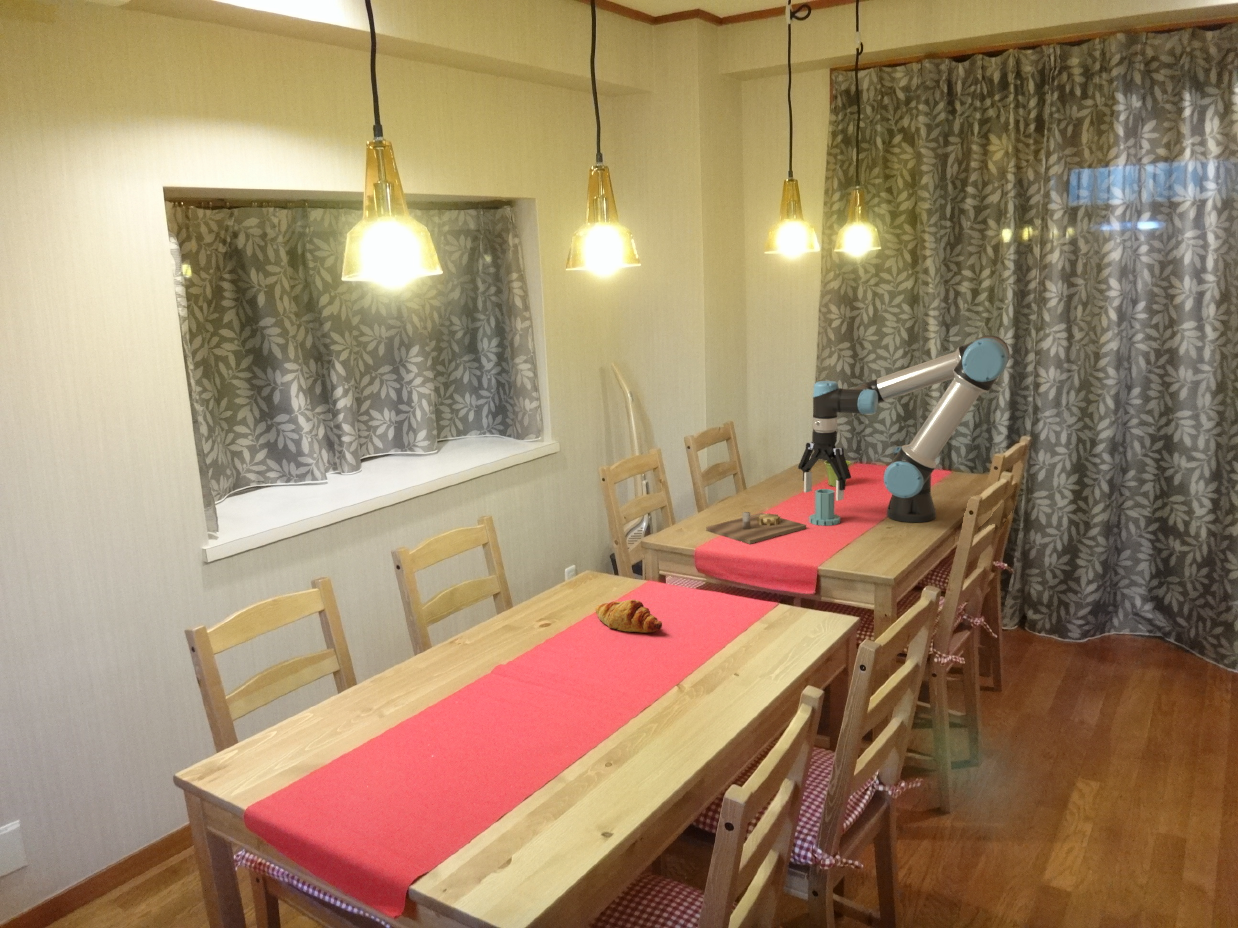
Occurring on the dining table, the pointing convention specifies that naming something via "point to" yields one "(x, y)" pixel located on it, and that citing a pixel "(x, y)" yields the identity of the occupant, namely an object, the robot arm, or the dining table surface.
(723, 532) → the carrier board
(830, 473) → the plant pot
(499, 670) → the dining table surface
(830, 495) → the gear
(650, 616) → the croissant
